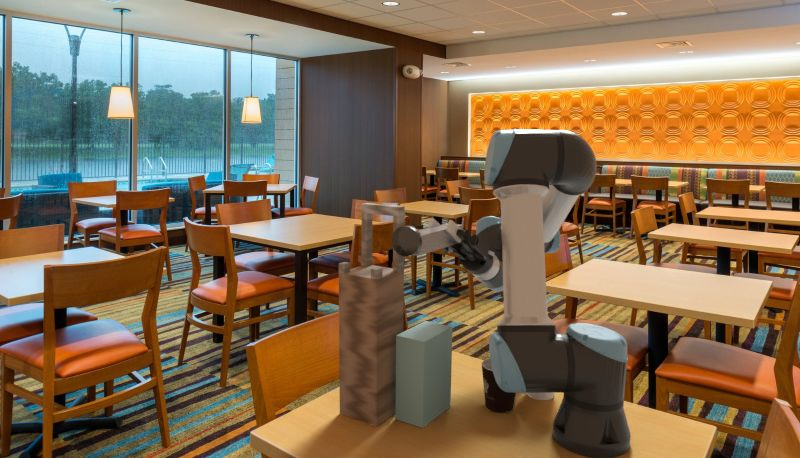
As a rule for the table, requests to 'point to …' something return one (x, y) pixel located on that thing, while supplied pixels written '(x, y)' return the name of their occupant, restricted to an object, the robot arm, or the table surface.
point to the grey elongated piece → (421, 239)
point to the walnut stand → (370, 326)
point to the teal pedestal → (423, 373)
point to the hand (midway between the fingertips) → (439, 224)
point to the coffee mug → (495, 391)
